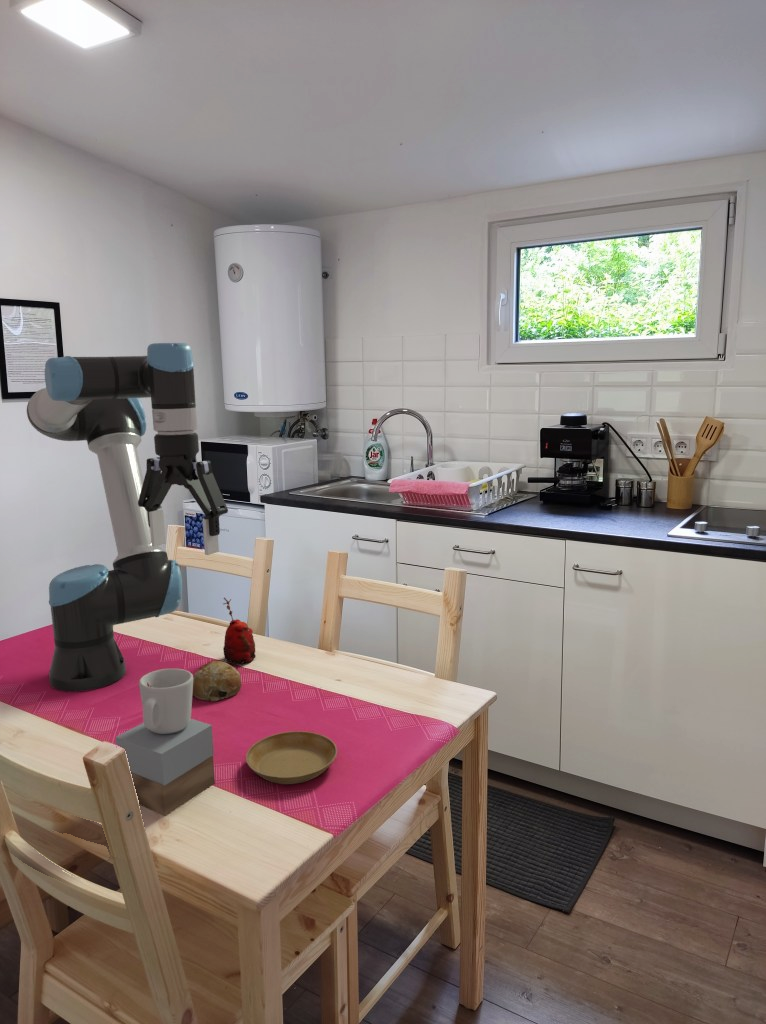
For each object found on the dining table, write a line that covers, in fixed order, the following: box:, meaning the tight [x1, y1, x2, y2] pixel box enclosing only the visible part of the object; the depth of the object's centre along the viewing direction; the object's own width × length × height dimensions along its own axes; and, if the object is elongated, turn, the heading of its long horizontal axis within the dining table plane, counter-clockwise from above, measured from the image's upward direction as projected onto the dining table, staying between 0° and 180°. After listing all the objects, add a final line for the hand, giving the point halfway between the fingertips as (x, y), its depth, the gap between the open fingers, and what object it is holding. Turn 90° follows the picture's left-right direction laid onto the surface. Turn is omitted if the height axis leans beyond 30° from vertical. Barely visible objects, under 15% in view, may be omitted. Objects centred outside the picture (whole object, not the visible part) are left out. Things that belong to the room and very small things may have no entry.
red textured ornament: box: [222, 597, 256, 664], centre depth 164 cm, size 8×7×15 cm
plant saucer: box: [245, 730, 338, 785], centre depth 121 cm, size 15×15×3 cm
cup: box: [138, 668, 194, 734], centre depth 112 cm, size 11×8×8 cm
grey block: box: [115, 718, 215, 786], centre depth 114 cm, size 10×10×5 cm
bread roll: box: [192, 660, 242, 702], centre depth 149 cm, size 10×10×8 cm
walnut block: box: [131, 755, 216, 817], centre depth 115 cm, size 10×10×5 cm
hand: (184, 549), depth 135 cm, fingers open, 13 cm apart
